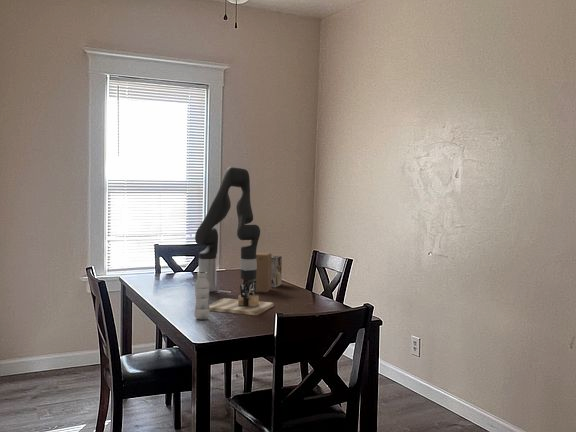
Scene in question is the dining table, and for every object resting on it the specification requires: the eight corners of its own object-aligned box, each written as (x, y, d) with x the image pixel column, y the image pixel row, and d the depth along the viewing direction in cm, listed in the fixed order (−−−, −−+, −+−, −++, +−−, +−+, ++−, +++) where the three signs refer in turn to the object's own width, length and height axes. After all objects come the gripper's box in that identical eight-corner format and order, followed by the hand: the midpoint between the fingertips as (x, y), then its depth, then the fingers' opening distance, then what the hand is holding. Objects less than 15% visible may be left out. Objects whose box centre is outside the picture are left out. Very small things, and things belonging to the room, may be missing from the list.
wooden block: (267, 293, 303) (267, 255, 301) (248, 292, 305) (248, 254, 303) (271, 289, 313) (271, 252, 311) (253, 288, 315) (253, 251, 313)
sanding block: (238, 305, 267) (238, 296, 267) (243, 303, 272) (243, 294, 271) (253, 307, 264) (253, 297, 264) (258, 305, 268) (258, 295, 268)
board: (204, 310, 264) (204, 306, 264) (223, 301, 283) (223, 298, 283) (257, 315, 255) (257, 312, 255) (273, 305, 274) (273, 302, 274)
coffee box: (270, 283, 329) (271, 255, 328) (281, 284, 327) (282, 256, 326) (265, 286, 320) (265, 257, 319) (276, 287, 318) (276, 258, 317)
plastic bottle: (194, 317, 251) (194, 271, 249) (210, 317, 251) (210, 271, 250) (193, 321, 244) (193, 274, 243) (209, 321, 245) (210, 274, 243)
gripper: (247, 265, 274) (247, 301, 276) (234, 270, 261) (234, 307, 262) (262, 266, 272) (261, 302, 273) (249, 271, 258) (249, 308, 260)
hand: (248, 304), depth 268 cm, fingers closed on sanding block, 5 cm apart
